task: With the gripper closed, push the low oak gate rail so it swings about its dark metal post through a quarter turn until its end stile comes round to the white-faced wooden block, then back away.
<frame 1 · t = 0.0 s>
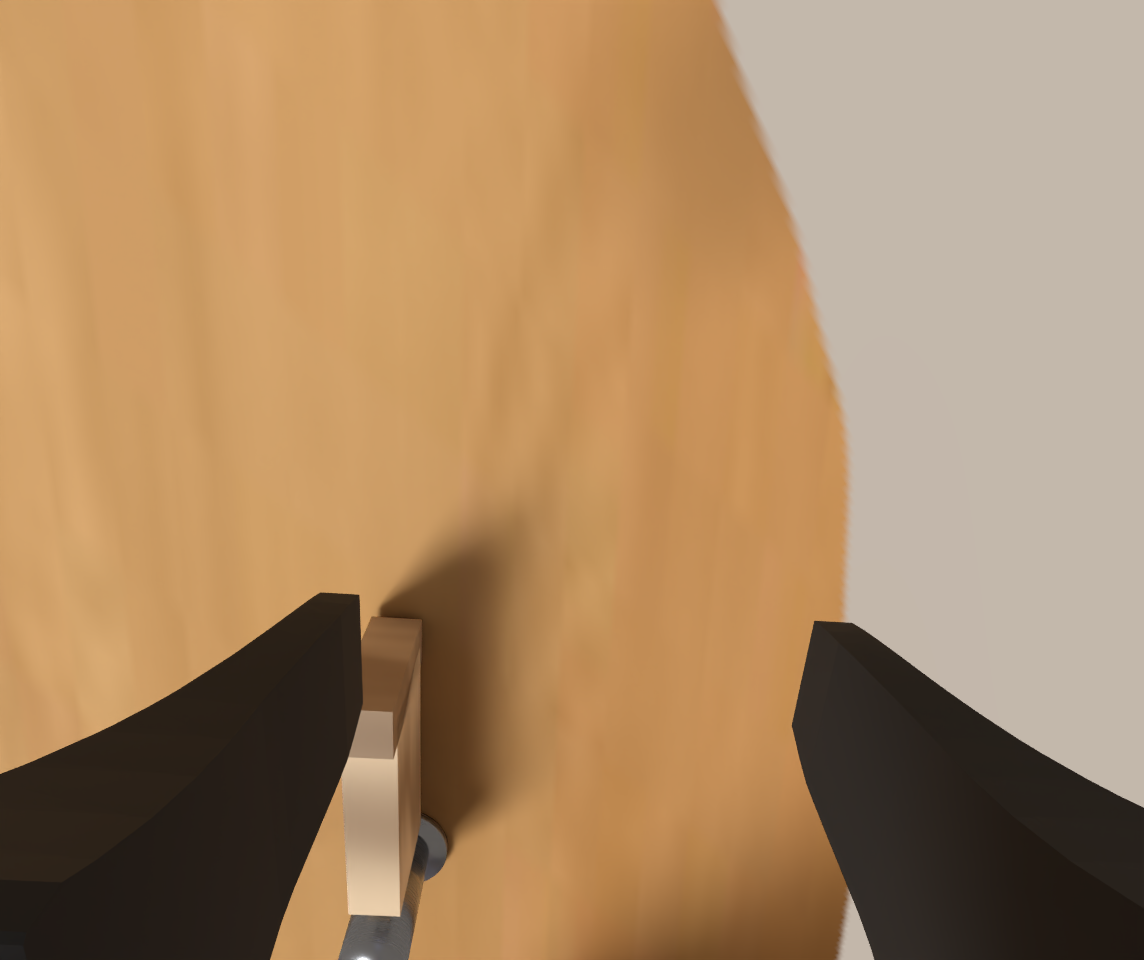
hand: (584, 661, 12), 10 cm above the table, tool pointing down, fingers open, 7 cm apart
pivot post: (401, 844, 27), on the table
gate: (383, 770, 23), point 2 cm above the table, hinge at 0.0°
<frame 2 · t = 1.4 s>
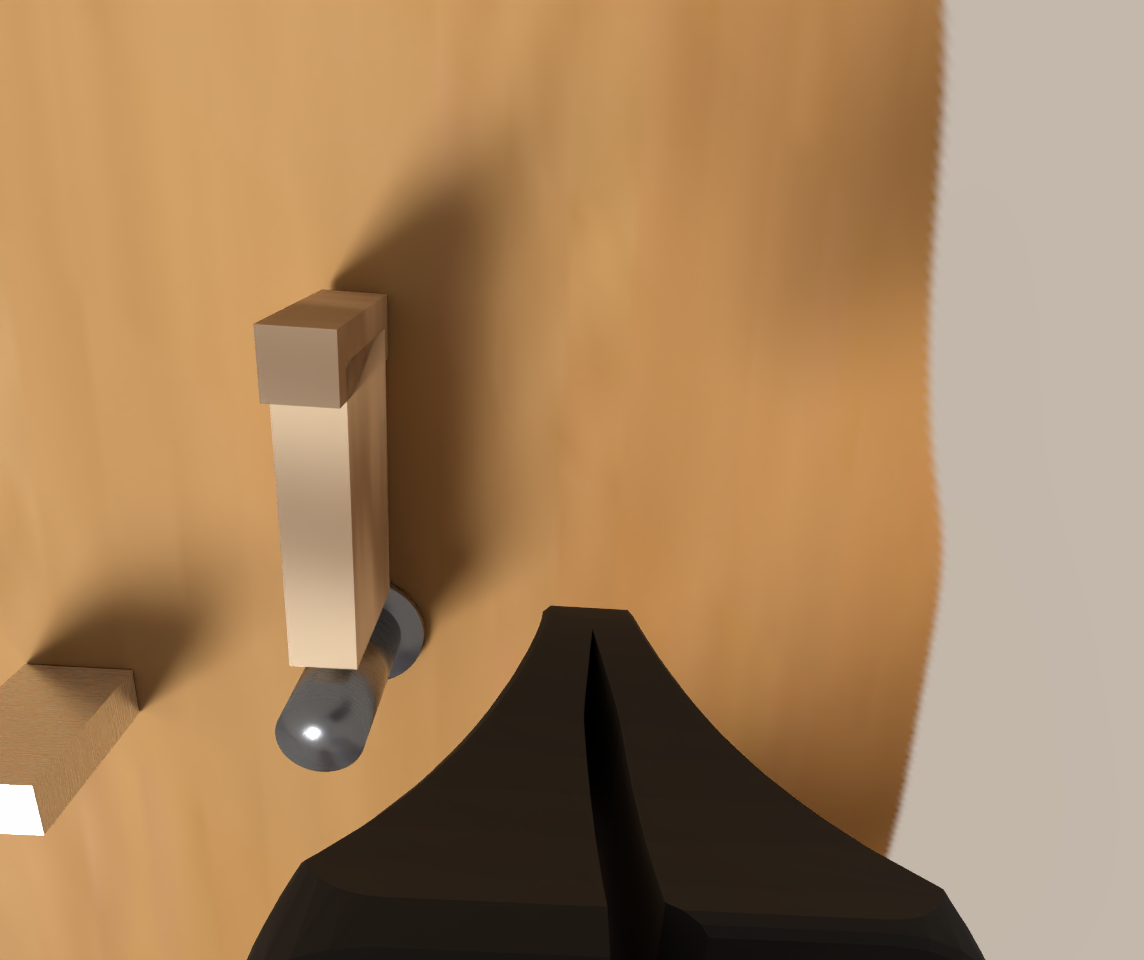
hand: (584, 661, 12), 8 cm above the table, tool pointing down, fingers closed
pivot post: (367, 627, 22), on the table
gate: (336, 480, 18), point 2 cm above the table, hinge at 0.0°
white-faced wooden block: (82, 689, 23), on the table
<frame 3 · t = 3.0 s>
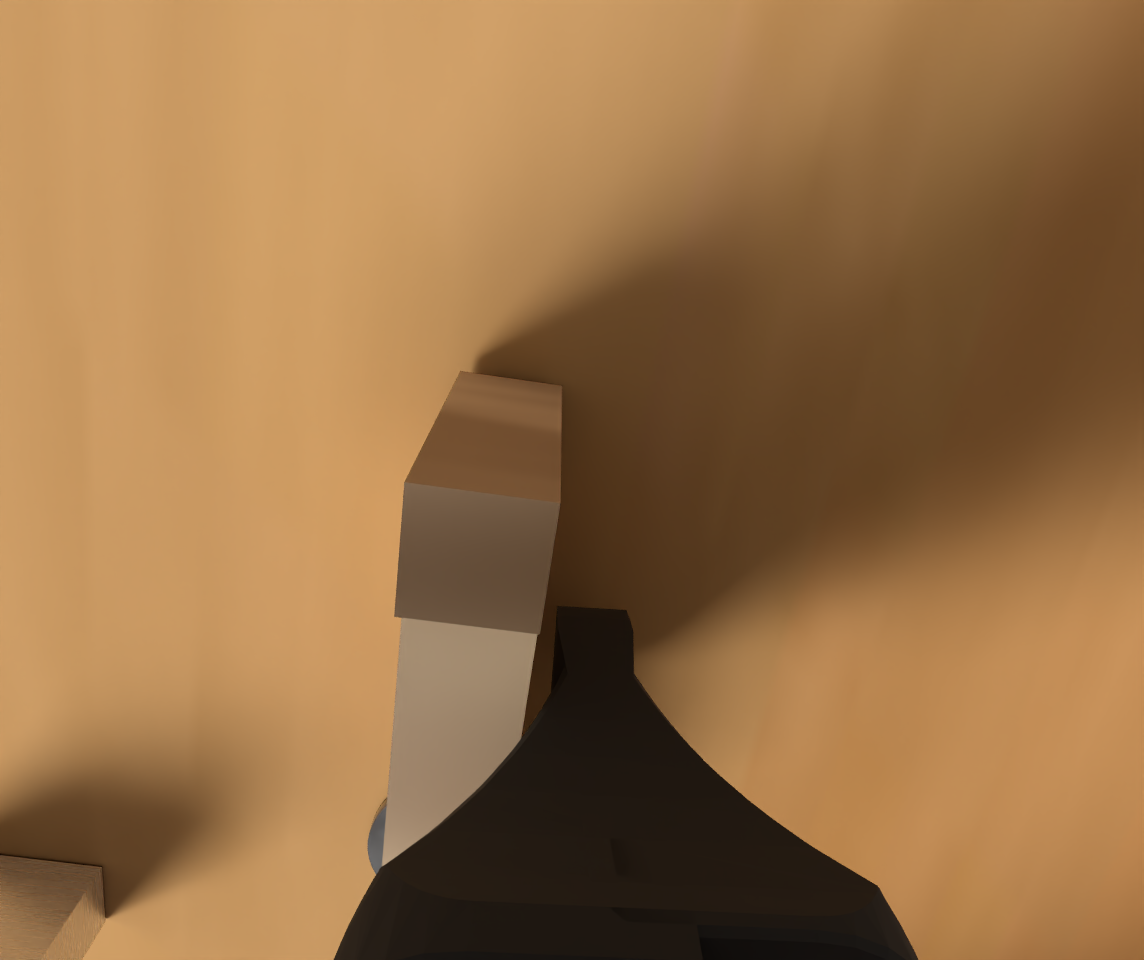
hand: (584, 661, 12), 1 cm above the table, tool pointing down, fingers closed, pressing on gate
pivot post: (454, 839, 15), on the table
gate: (468, 685, 11), point 2 cm above the table, hinge at 1.5°, touching gripper
white-faced wooden block: (25, 885, 15), on the table
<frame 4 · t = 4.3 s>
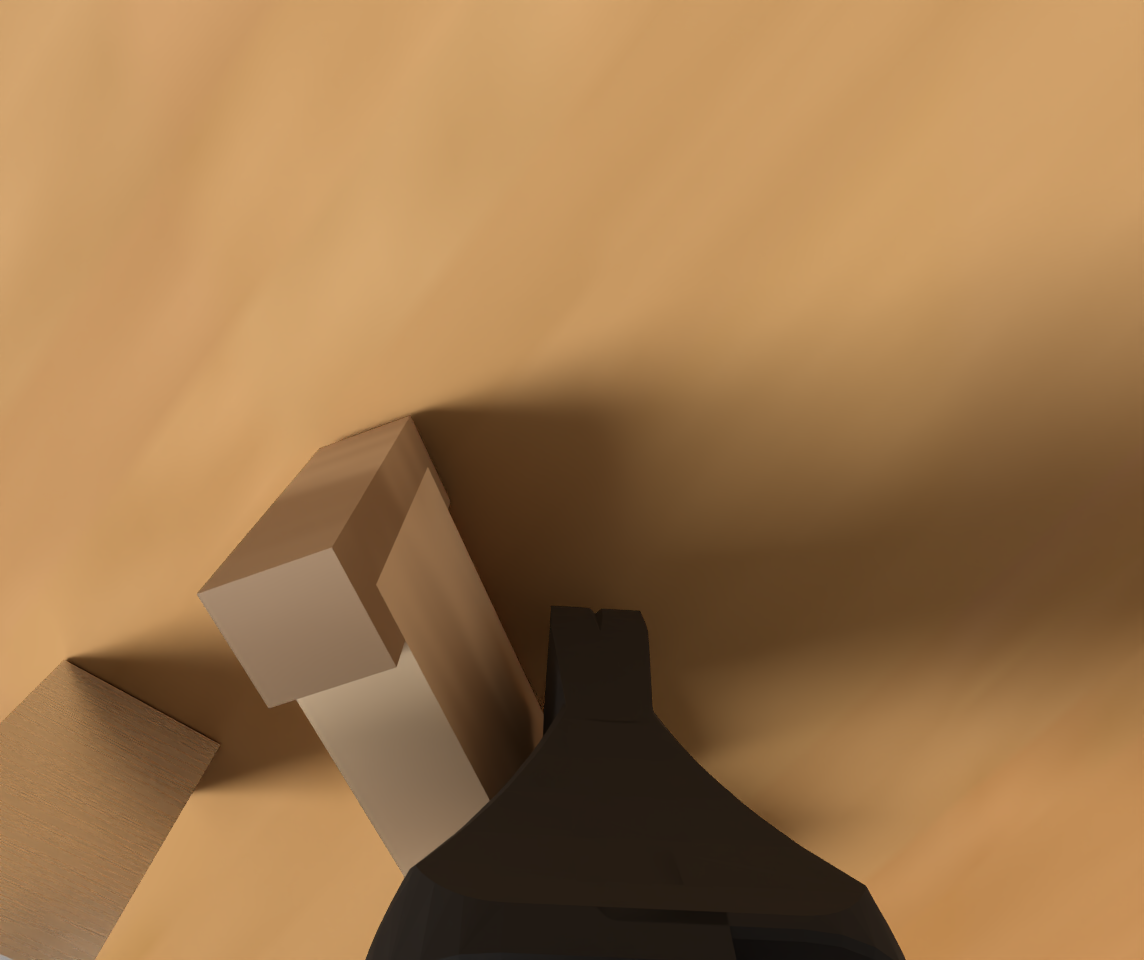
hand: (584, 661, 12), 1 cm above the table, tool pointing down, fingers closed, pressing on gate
gate: (448, 722, 11), point 2 cm above the table, hinge at 58.2°, touching gripper
white-faced wooden block: (125, 730, 14), on the table
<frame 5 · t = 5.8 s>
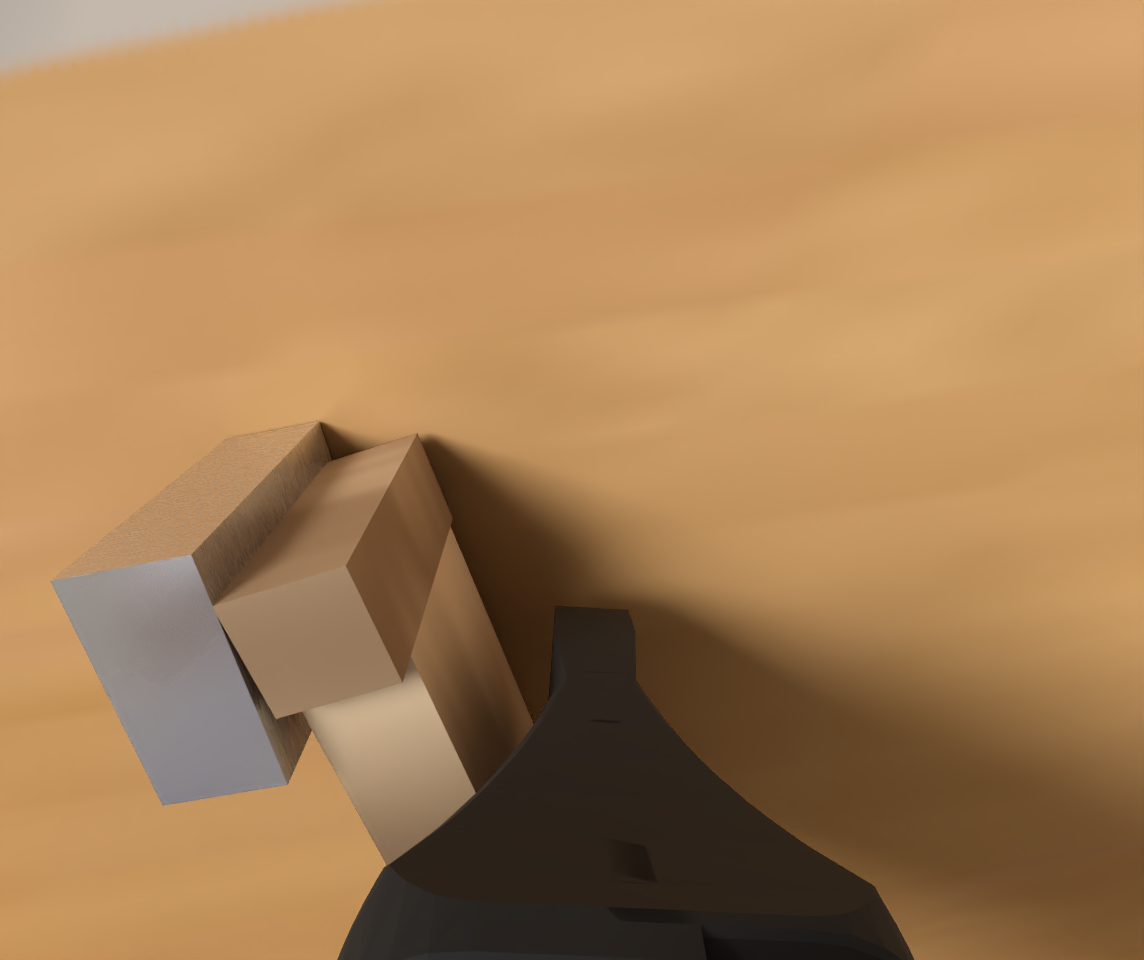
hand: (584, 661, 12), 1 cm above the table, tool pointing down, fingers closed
gate: (445, 735, 11), point 2 cm above the table, hinge at 96.9°, touching gripper, white-faced wooden block
white-faced wooden block: (302, 517, 13), on the table
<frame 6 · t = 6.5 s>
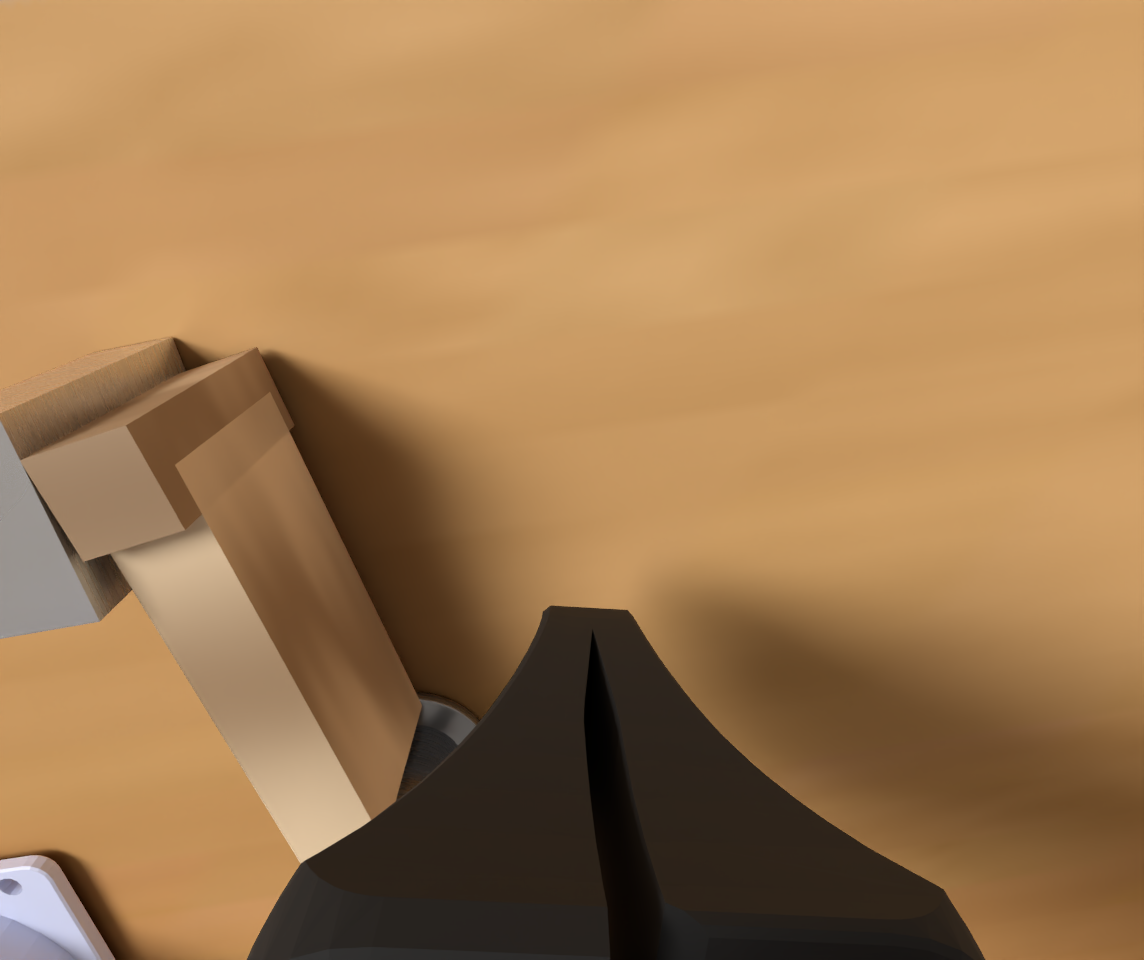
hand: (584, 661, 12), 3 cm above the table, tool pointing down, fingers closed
pivot post: (420, 752, 17), on the table
gate: (273, 608, 13), point 2 cm above the table, hinge at 96.9°, touching white-faced wooden block
white-faced wooden block: (164, 424, 14), on the table
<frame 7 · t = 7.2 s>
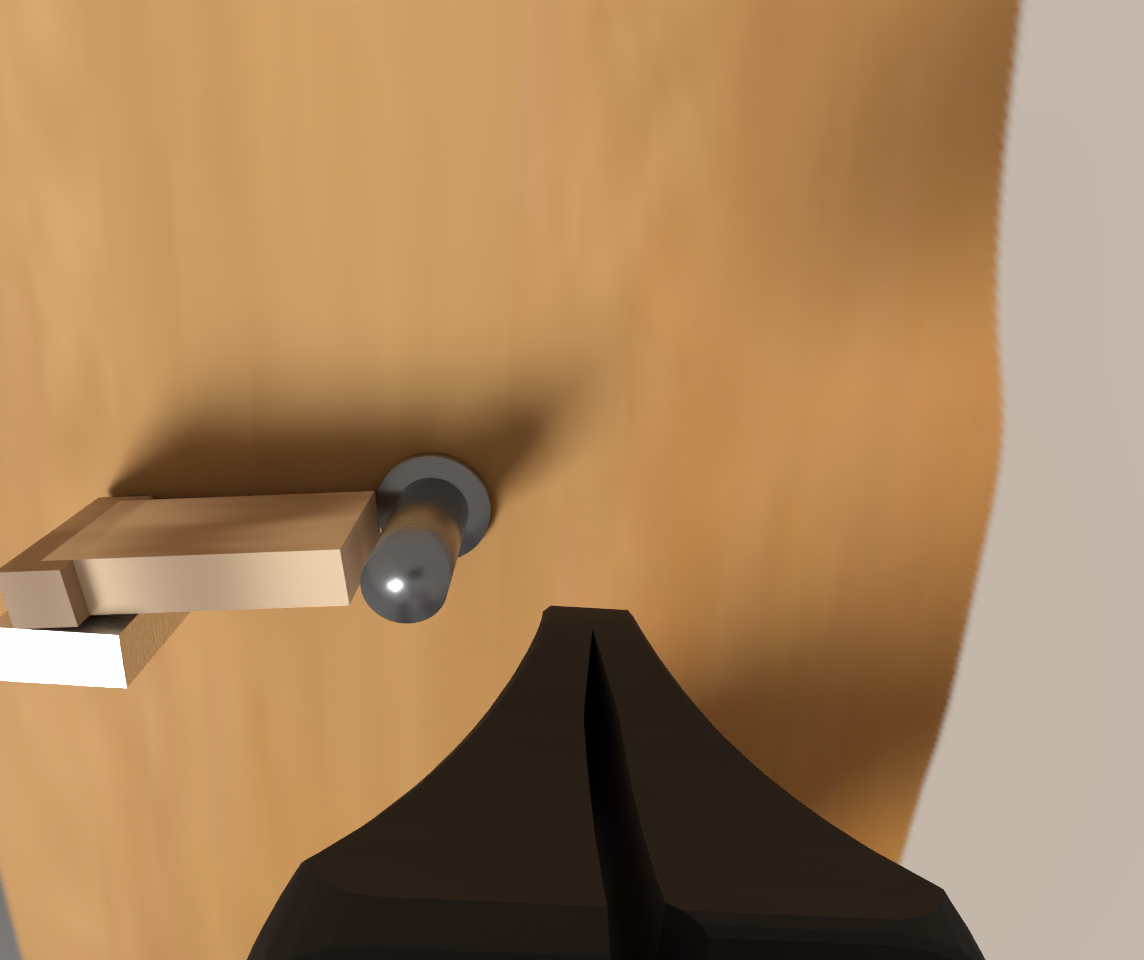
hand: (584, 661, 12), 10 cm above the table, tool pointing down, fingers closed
pivot post: (434, 506, 22), on the table
gate: (210, 551, 20), point 2 cm above the table, hinge at 96.9°, touching white-faced wooden block
white-faced wooden block: (151, 567, 23), on the table
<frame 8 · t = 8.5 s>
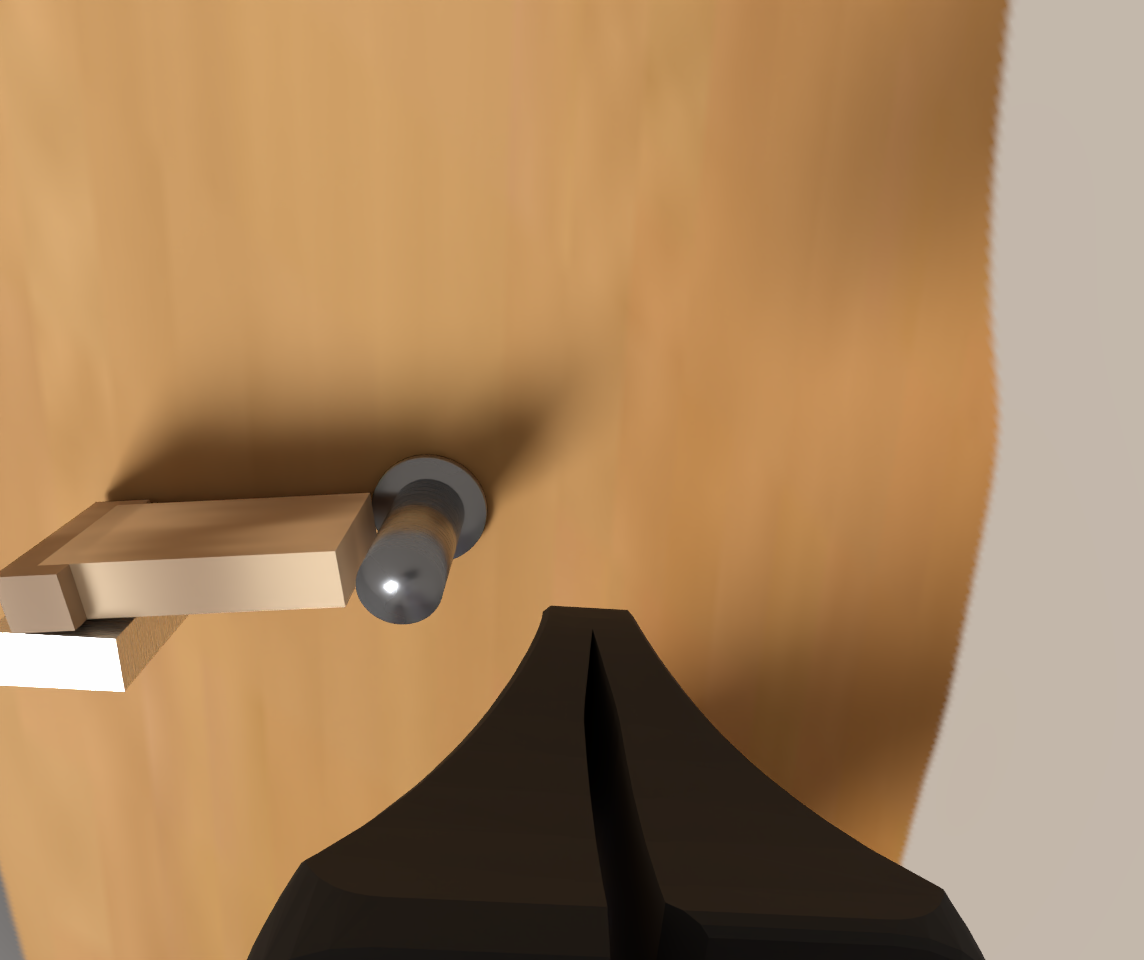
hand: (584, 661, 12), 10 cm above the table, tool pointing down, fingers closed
pivot post: (430, 507, 22), on the table
gate: (207, 555, 20), point 2 cm above the table, hinge at 96.9°, touching white-faced wooden block
white-faced wooden block: (149, 571, 23), on the table
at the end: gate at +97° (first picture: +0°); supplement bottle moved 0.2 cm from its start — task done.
